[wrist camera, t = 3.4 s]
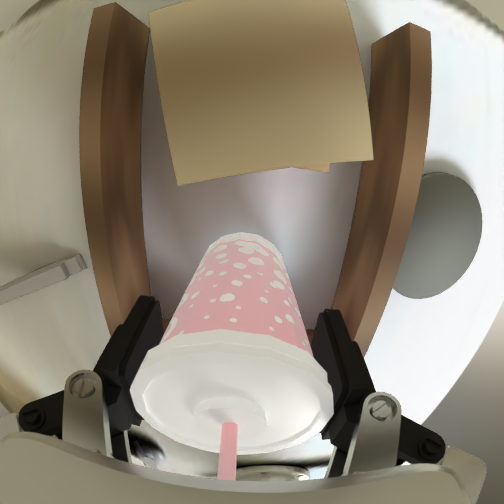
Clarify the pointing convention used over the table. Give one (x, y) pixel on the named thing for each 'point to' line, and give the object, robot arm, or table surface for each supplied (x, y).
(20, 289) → the caliper
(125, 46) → the rack
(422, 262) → the coaster
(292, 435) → the beverage cup
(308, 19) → the offcut upper
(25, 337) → the table surface
